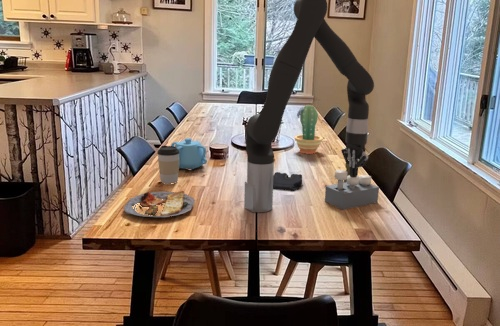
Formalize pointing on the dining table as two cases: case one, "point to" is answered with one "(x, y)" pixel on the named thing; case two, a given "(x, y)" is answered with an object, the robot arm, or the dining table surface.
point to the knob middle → (352, 181)
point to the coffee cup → (168, 164)
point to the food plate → (173, 203)
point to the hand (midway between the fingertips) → (353, 176)
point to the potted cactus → (308, 130)
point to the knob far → (364, 180)
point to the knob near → (340, 178)
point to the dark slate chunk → (287, 181)
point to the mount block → (351, 195)
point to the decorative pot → (190, 154)
